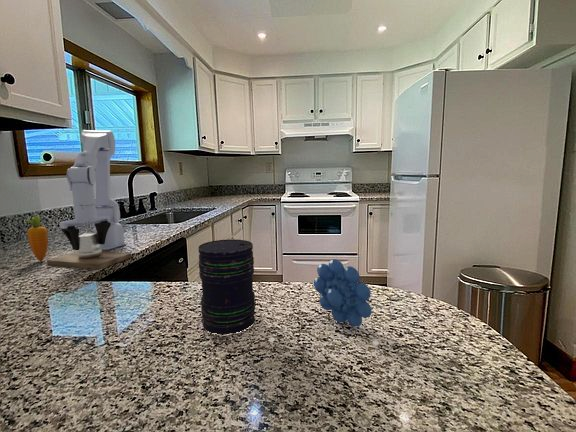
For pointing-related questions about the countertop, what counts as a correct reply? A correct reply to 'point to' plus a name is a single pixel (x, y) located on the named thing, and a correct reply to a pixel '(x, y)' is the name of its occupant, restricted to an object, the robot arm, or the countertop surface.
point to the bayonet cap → (89, 245)
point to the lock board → (89, 260)
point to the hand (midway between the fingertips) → (89, 246)
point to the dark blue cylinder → (227, 285)
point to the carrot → (37, 238)
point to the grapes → (343, 292)
